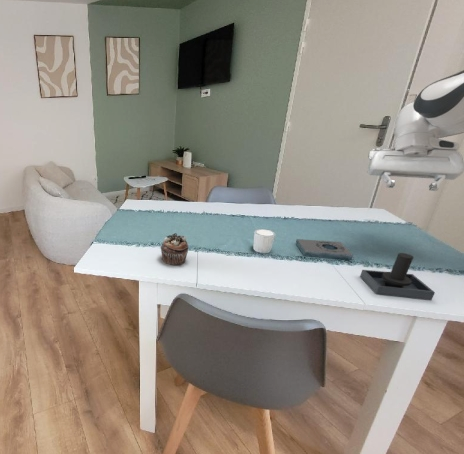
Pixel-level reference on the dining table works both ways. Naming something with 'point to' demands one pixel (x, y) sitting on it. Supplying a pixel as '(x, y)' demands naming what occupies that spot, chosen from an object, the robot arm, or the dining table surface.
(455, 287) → the dining table surface
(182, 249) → the cupcake
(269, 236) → the white cylinder
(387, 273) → the plug
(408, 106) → the robot arm
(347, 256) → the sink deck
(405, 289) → the dark grey tray
